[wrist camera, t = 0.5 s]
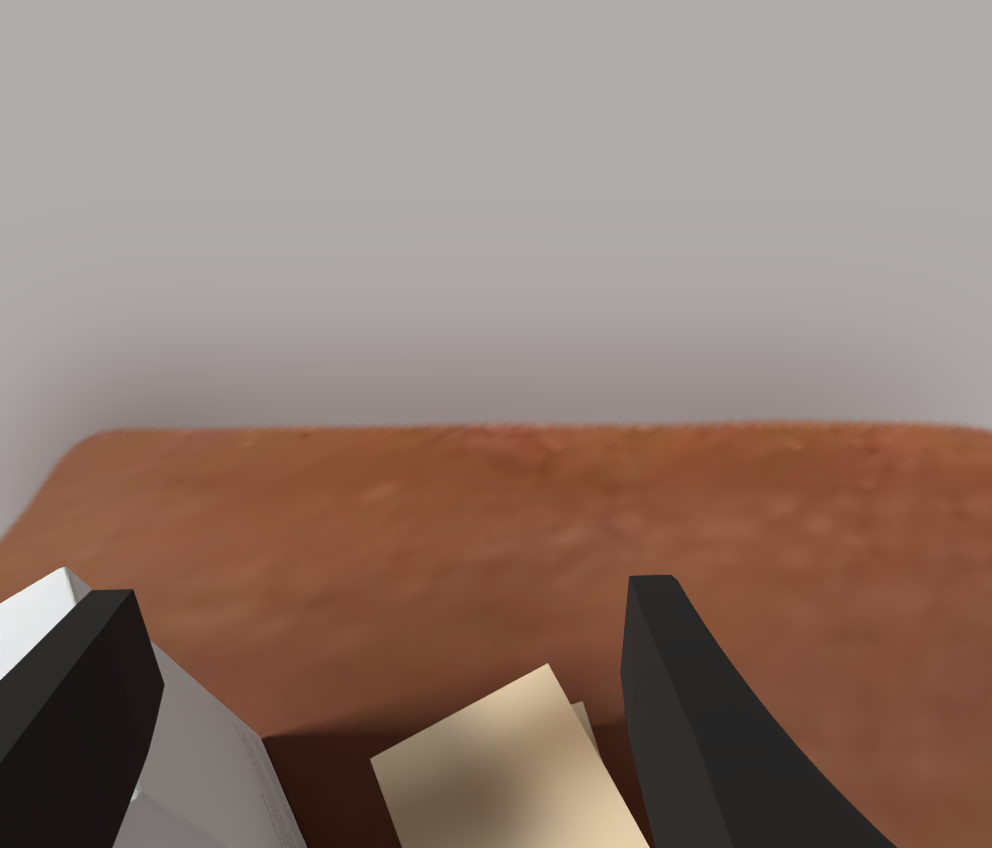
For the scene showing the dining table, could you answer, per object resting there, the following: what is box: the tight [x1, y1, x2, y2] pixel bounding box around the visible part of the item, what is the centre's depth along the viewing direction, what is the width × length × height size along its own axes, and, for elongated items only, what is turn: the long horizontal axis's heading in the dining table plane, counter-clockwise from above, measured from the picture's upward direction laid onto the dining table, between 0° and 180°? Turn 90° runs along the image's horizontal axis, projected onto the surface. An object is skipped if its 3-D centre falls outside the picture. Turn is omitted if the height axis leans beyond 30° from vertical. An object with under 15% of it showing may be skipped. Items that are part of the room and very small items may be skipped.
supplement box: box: [0, 567, 307, 848], centre depth 24 cm, size 7×7×13 cm
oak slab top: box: [370, 663, 650, 848], centre depth 25 cm, size 6×6×2 cm
